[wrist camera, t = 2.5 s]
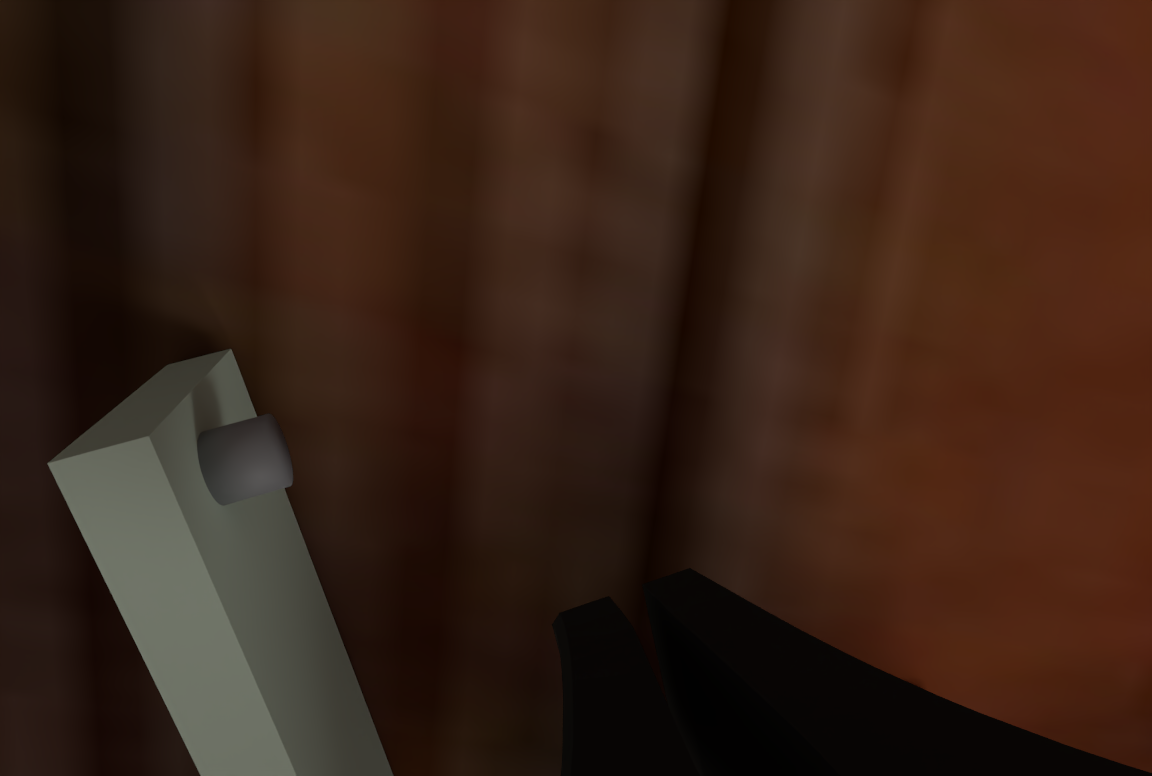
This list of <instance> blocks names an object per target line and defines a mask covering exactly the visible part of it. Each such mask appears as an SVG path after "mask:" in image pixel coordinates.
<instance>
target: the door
mask: <svg viewBox="0 0 1152 776" xmlns="http://www.w3.org/2000/svg"><path fill="white" fill-rule="evenodd" d="M47 464H48V466H49V468H50V470H51V472H52V474H53V476H54V478H55V480H56V482H57V484H58V486H59V488H60V490H61V492H62V494H63V496H64V498H65V500H66V502H67V504H68V506H69V508H70V511H71V513H72V515H73V517H74V519H75V521H76V523H77V525H78V527H79V529H80V531H81V533H82V535H83V537H84V539H85V541H86V543H87V545H88V547H89V549H90V551H91V553H92V555H93V557H94V559H95V561H96V563H97V566H98V568H99V570H100V572H101V574H102V576H103V578H104V580H105V582H106V584H107V586H108V588H109V590H110V592H111V594H112V596H113V598H114V600H115V602H116V604H117V606H118V608H119V610H120V612H121V614H122V616H123V618H124V621H125V623H126V625H127V627H128V629H129V631H130V633H131V635H132V637H133V639H134V641H135V643H136V645H137V647H138V649H139V651H140V653H141V655H142V657H143V659H144V661H145V663H146V665H147V667H148V669H149V671H150V673H151V676H152V678H153V680H154V682H155V684H156V686H157V688H158V690H159V692H160V694H161V696H162V698H163V700H164V702H165V704H166V706H167V708H168V710H169V712H170V714H171V716H172V718H173V720H174V722H175V724H176V726H177V728H178V731H179V733H180V735H181V737H182V739H183V741H184V743H185V745H186V747H187V749H188V751H189V753H190V755H191V757H192V759H193V761H194V763H195V765H196V767H197V769H198V771H199V773H200V775H201V776H393V773H392V771H391V768H390V765H389V763H388V760H387V757H386V755H385V752H384V750H383V747H382V744H381V742H380V739H379V736H378V734H377V731H376V728H375V726H374V723H373V721H372V718H371V715H370V713H369V710H368V707H367V705H366V702H365V699H364V697H363V694H362V692H361V689H360V686H359V684H358V681H357V678H356V676H355V673H354V671H353V668H352V665H351V663H350V660H349V657H348V655H347V652H346V649H345V647H344V644H343V642H342V639H341V636H340V634H339V631H338V628H337V626H336V623H335V621H334V618H333V615H332V613H331V610H330V607H329V605H328V602H327V599H326V597H325V594H324V592H323V589H322V586H321V584H320V581H319V578H318V576H317V573H316V571H315V568H314V565H313V563H312V560H311V557H310V555H309V552H308V549H307V547H306V544H305V542H304V539H303V536H302V534H301V531H300V528H299V526H298V523H297V520H296V518H295V515H294V513H293V510H292V507H291V505H290V502H289V499H288V497H287V494H286V492H285V489H284V488H286V487H290V486H291V485H292V482H293V469H292V463H291V458H290V454H289V450H288V446H287V443H286V440H285V437H284V435H283V432H282V430H281V428H280V426H279V424H278V422H277V421H276V419H275V418H274V416H273V415H271V414H265V415H261V416H258V417H257V415H256V413H255V410H254V407H253V405H252V402H251V399H250V397H249V394H248V391H247V389H246V386H245V384H244V381H243V378H242V376H241V373H240V370H239V368H238V365H237V363H236V360H235V357H234V355H233V352H232V349H227V350H223V351H220V352H216V353H212V354H208V355H204V356H200V357H196V358H192V359H188V360H184V361H180V362H176V363H172V364H169V365H166V366H165V367H164V368H163V369H161V370H160V371H159V372H158V373H157V374H155V375H154V376H153V377H152V378H151V379H149V380H148V381H147V382H146V383H144V384H143V385H142V386H141V387H140V388H138V389H137V390H136V391H135V392H133V393H132V394H131V395H130V396H129V397H127V398H126V399H125V400H124V401H123V402H121V403H120V404H119V405H118V406H116V407H115V408H114V409H113V410H112V411H110V412H109V413H108V414H107V415H106V416H104V417H103V418H102V419H101V420H99V421H98V422H97V423H96V424H95V425H93V426H92V427H91V428H90V429H89V430H87V431H86V432H85V433H84V434H82V435H81V436H80V437H79V438H78V439H76V440H75V441H74V442H73V443H71V444H70V445H69V446H68V447H67V448H65V449H64V450H63V451H62V452H61V453H59V454H58V455H57V456H56V457H54V458H53V459H52V460H51V461H50V462H48V463H47Z"/></svg>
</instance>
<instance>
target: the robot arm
mask: <svg viewBox="0 0 1152 776" xmlns="http://www.w3.org/2000/svg"><path fill="white" fill-rule="evenodd" d="M642 586H643V590H644V595H645V600H646V604H647V609H648V614H649V618H650V623H651V628H652V633H653V637H654V642H655V647H656V651H657V656H658V661H659V665H660V670H661V675H662V679H663V684H664V689H665V694H666V698H667V702H666V700H665V698H664V695H663V693H662V691H661V689H660V686H659V684H658V682H657V680H656V677H655V675H654V673H653V671H652V668H651V666H650V664H649V662H648V659H647V657H646V655H645V653H644V650H643V648H642V646H641V644H640V641H639V639H638V637H637V635H636V633H635V631H634V628H633V626H632V625H631V624H630V622H629V621H628V620H627V618H626V617H625V615H624V614H623V613H622V611H621V610H620V609H619V608H618V606H617V605H616V604H615V603H614V602H613V601H612V599H611V598H610V597H609V596H608V597H605V598H602V599H599V600H596V601H593V602H590V603H587V604H584V605H581V606H579V607H576V608H573V609H570V610H567V611H564V612H561V613H559V615H558V616H557V618H556V619H555V621H554V623H553V624H552V626H553V629H554V633H555V637H556V641H557V644H558V648H559V652H560V657H561V666H562V681H563V753H562V770H561V776H1152V773H1149V772H1146V771H1143V770H1140V769H1136V768H1133V767H1130V766H1127V765H1123V764H1120V763H1117V762H1114V761H1111V760H1108V759H1105V758H1102V757H1099V756H1096V755H1094V754H1091V753H1088V752H1085V751H1082V750H1079V749H1076V748H1073V747H1070V746H1067V745H1064V744H1061V743H1059V742H1056V741H1053V740H1051V739H1048V738H1045V737H1043V736H1040V735H1037V734H1035V733H1032V732H1029V731H1027V730H1024V729H1021V728H1019V727H1016V726H1013V725H1011V724H1008V723H1005V722H1003V721H1000V720H997V719H995V718H992V717H989V716H987V715H984V714H981V713H979V712H976V711H974V710H971V709H969V708H966V707H964V706H962V705H959V704H957V703H954V702H952V701H949V700H947V699H945V698H942V697H940V696H937V695H935V694H933V693H931V692H929V691H926V690H924V689H922V688H920V687H917V686H915V685H913V684H911V683H909V682H906V681H904V680H902V679H900V678H897V677H895V676H893V675H891V674H888V673H886V672H884V671H882V670H880V669H877V668H875V667H873V666H871V665H869V664H867V663H865V662H863V661H861V660H859V659H857V658H855V657H852V656H850V655H848V654H846V653H844V652H842V651H840V650H838V649H836V648H834V647H832V646H831V645H829V644H827V643H825V642H823V641H821V640H819V639H817V638H815V637H813V636H811V635H809V634H807V633H805V632H803V631H801V630H800V629H798V628H796V627H794V626H792V625H790V624H789V623H787V622H785V621H783V620H781V619H779V618H778V617H776V616H774V615H772V614H770V613H769V612H767V611H765V610H763V609H761V608H760V607H758V606H756V605H754V604H752V603H751V602H749V601H747V600H745V599H744V598H742V597H740V596H738V595H737V594H735V593H733V592H731V591H730V590H728V589H726V588H724V587H723V586H721V585H719V584H717V583H715V582H714V581H712V580H710V579H708V578H707V577H705V576H703V575H701V574H700V573H698V572H696V571H694V570H692V569H690V568H689V569H686V570H683V571H680V572H677V573H674V574H672V575H669V576H666V577H663V578H660V579H657V580H654V581H651V582H648V583H645V584H642ZM667 703H668V704H667Z"/></svg>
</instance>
